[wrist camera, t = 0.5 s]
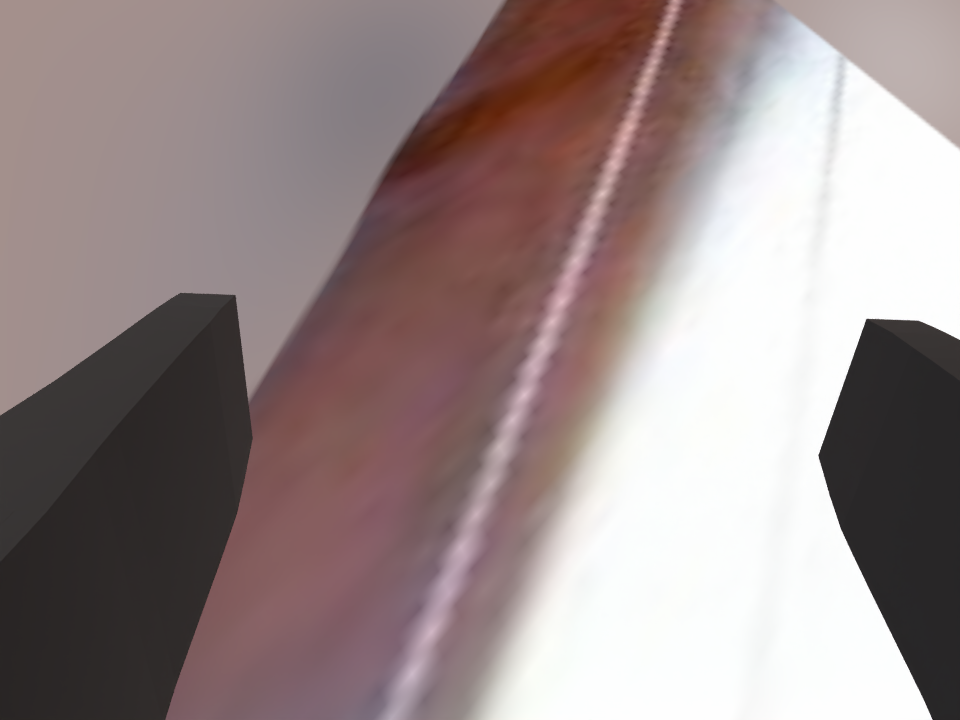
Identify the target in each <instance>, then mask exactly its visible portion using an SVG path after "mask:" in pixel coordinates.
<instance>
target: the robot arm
mask: <svg viewBox="0 0 960 720" xmlns="http://www.w3.org/2000/svg"><path fill="white" fill-rule="evenodd" d="M252 439H253V438H252V430H251V421H250V413H249V405H248V396H247V388H246V380H245V372H244V363H243V355H242V346H241V338H240V329H239V321H238V313H237V304H236V297H235V295H219V294H193V293H180V294H178V295H176V296H175V297H173V298H171V299H170V300H168V301H167V302H165V303H164V304H162V305H161V306H159V307H158V308H156V309H155V310H154V311H152V312H151V313H149V314H148V315H146V316H145V317H144V318H142V319H141V320H140V321H138V322H137V323H135V324H134V325H133V326H131V327H130V328H128V329H127V330H126V331H124V332H123V333H122V334H120V335H119V336H117V337H116V338H115V339H113V340H112V341H110V342H109V343H108V344H106V345H105V346H103V347H102V348H101V349H99V350H98V351H96V352H95V353H93V354H92V355H91V356H89V357H88V358H86V359H85V360H84V361H82V362H81V363H80V364H78V365H76V366H75V367H74V368H72V369H71V370H70V371H68V372H67V373H65V374H64V375H62V376H61V377H59V378H58V379H57V380H55V381H54V382H52V383H51V384H49V385H47V386H46V387H44V388H43V389H41V390H40V391H38V392H37V393H35V394H33V395H32V396H30V397H29V398H27V399H26V400H24V401H22V402H21V403H20V404H18V405H16V406H15V407H13V408H12V409H10V410H8V411H7V412H5V413H4V414H2V415H1V416H0V720H165V718H166V715H167V712H168V709H169V706H170V702H171V699H172V696H173V693H174V689H175V686H176V683H177V680H178V678H179V675H180V672H181V669H182V667H183V664H184V661H185V658H186V655H187V653H188V650H189V647H190V644H191V642H192V639H193V636H194V633H195V630H196V628H197V625H198V622H199V619H200V616H201V614H202V611H203V608H204V605H205V603H206V600H207V597H208V594H209V591H210V589H211V586H212V583H213V580H214V578H215V575H216V572H217V569H218V566H219V563H220V561H221V558H222V555H223V552H224V549H225V546H226V544H227V541H228V538H229V535H230V532H231V529H232V526H233V523H234V520H235V517H236V514H237V511H238V506H239V502H240V497H241V493H242V488H243V484H244V479H245V474H246V469H247V464H248V459H249V454H250V449H251V444H252ZM818 456H819V460H820V463H821V466H822V470H823V473H824V477H825V480H826V484H827V487H828V491H829V494H830V497H831V500H832V503H833V506H834V509H835V512H836V515H837V518H838V521H839V524H840V527H841V530H842V532H843V534H844V536H845V539H846V541H847V543H848V545H849V547H850V549H851V552H852V554H853V556H854V558H855V560H856V562H857V564H858V566H859V568H860V570H861V572H862V575H863V577H864V579H865V581H866V583H867V585H868V587H869V589H870V591H871V593H872V595H873V597H874V599H875V601H876V603H877V605H878V607H879V609H880V611H881V614H882V616H883V618H884V620H885V622H886V624H887V626H888V628H889V630H890V632H891V634H892V636H893V638H894V640H895V642H896V644H897V646H898V648H899V650H900V652H901V654H902V656H903V658H904V660H905V662H906V664H907V666H908V668H909V670H910V672H911V674H912V677H913V679H914V681H915V683H916V685H917V687H918V689H919V691H920V693H921V695H922V697H923V699H924V701H925V703H926V706H927V708H928V710H929V713H930V715H931V717H932V719H933V720H960V340H959V339H957V338H955V337H953V336H951V335H949V334H947V333H945V332H943V331H941V330H939V329H936V328H934V327H932V326H930V325H927V324H925V323H923V322H920V321H910V320H884V319H866V322H865V325H864V328H863V330H862V333H861V336H860V339H859V342H858V345H857V348H856V350H855V353H854V356H853V359H852V362H851V365H850V367H849V370H848V373H847V376H846V379H845V382H844V384H843V387H842V390H841V393H840V396H839V399H838V401H837V404H836V407H835V410H834V413H833V416H832V418H831V421H830V424H829V427H828V430H827V433H826V436H825V438H824V441H823V444H822V447H821V450H820V453H819V455H818Z"/></svg>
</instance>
